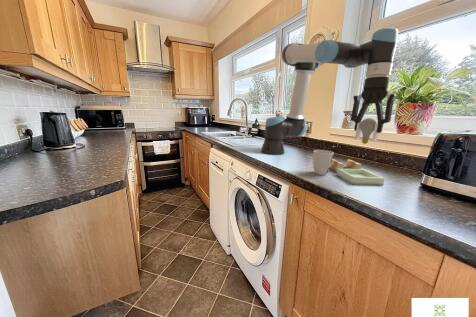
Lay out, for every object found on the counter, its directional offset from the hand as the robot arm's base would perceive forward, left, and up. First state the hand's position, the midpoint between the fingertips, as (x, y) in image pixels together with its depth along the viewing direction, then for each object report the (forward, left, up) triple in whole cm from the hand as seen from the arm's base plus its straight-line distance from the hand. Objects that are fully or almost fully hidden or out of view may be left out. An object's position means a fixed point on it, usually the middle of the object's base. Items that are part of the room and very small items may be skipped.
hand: (365, 140), depth 77 cm
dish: (0, 0, -17) cm, 17 cm away
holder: (-13, +1, -17) cm, 21 cm away
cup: (-7, -13, -17) cm, 22 cm away
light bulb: (0, 0, -2) cm, 2 cm away
